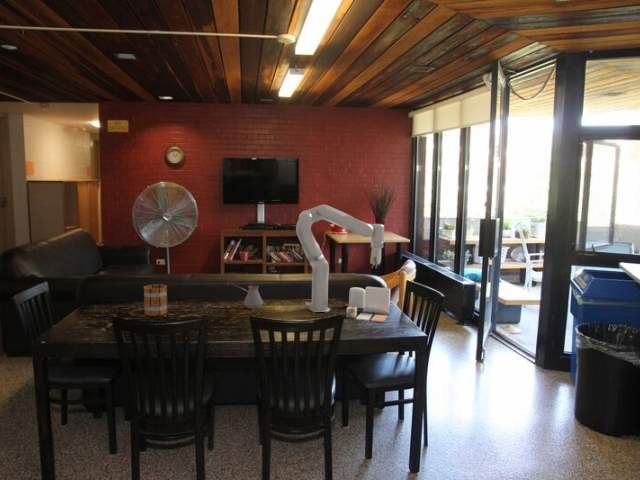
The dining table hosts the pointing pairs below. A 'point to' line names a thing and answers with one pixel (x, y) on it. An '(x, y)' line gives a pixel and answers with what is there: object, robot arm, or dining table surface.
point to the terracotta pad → (379, 318)
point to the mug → (155, 299)
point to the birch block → (351, 312)
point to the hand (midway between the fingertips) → (375, 273)
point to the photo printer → (357, 297)
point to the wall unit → (377, 301)
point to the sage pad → (364, 316)
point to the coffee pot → (251, 297)
